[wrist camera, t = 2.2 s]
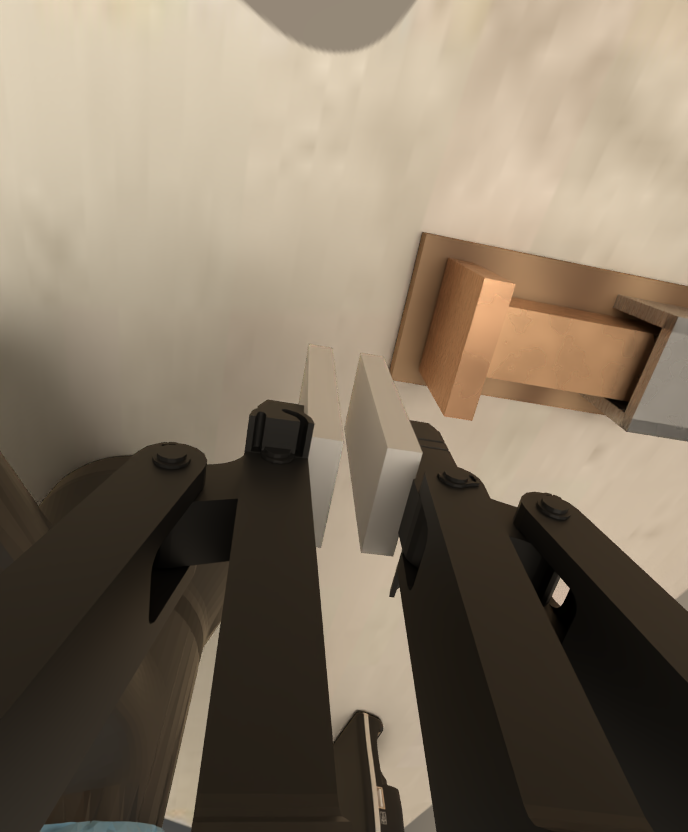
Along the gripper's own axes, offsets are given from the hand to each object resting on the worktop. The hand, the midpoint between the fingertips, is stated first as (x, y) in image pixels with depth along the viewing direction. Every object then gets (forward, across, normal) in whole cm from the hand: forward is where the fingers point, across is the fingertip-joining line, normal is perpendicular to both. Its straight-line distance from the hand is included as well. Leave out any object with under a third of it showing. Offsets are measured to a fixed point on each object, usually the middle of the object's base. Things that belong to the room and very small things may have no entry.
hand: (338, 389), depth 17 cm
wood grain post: (+15, +16, 0) cm, 22 cm away
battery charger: (+17, +10, -40) cm, 45 cm away
